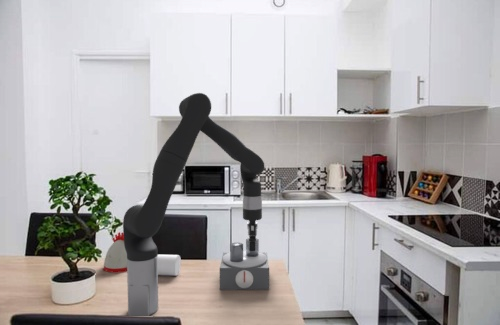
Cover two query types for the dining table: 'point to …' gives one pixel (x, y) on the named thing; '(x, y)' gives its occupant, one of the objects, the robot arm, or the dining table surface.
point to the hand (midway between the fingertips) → (252, 247)
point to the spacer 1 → (236, 252)
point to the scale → (244, 273)
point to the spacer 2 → (252, 253)
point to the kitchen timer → (116, 255)
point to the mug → (169, 264)
